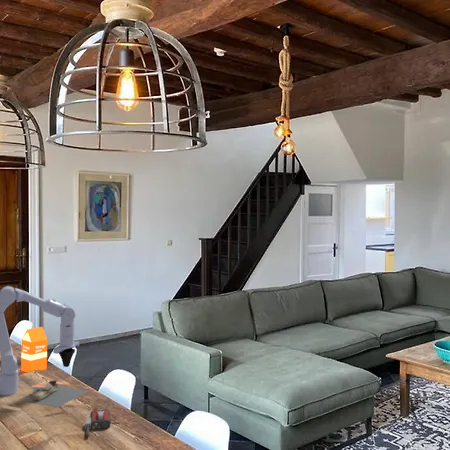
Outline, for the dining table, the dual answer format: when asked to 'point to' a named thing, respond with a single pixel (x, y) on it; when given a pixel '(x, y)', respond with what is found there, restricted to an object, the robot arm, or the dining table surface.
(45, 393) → the link
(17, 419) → the dining table surface
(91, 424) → the walkie-talkie
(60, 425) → the dining table surface
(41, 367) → the orange juice
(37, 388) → the block
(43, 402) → the board
